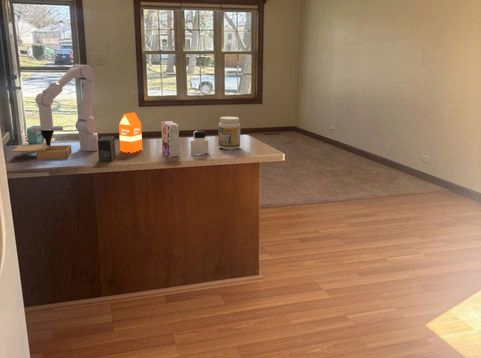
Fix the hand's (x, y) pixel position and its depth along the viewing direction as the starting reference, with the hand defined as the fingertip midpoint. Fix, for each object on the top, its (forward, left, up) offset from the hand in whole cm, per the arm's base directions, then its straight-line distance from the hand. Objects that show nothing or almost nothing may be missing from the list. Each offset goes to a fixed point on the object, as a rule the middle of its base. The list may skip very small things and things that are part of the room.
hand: (48, 145), depth 223 cm
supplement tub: (-92, -8, -6) cm, 93 cm away
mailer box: (-2, 0, -5) cm, 6 cm away
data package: (+10, -18, -6) cm, 21 cm away
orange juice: (-39, -8, -6) cm, 41 cm away
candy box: (-59, +4, -6) cm, 60 cm away
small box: (-28, +10, -6) cm, 31 cm away
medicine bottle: (-74, +4, -6) cm, 75 cm away
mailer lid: (+8, 0, -1) cm, 8 cm away
